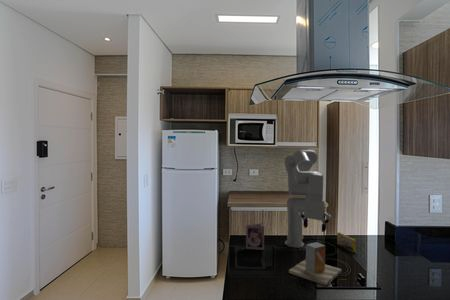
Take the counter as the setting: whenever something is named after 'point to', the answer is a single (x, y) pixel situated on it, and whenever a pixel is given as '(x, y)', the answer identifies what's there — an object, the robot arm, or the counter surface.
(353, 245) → the candy box
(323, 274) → the birch board
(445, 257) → the counter surface
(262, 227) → the greeting card
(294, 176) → the robot arm
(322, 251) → the small box
